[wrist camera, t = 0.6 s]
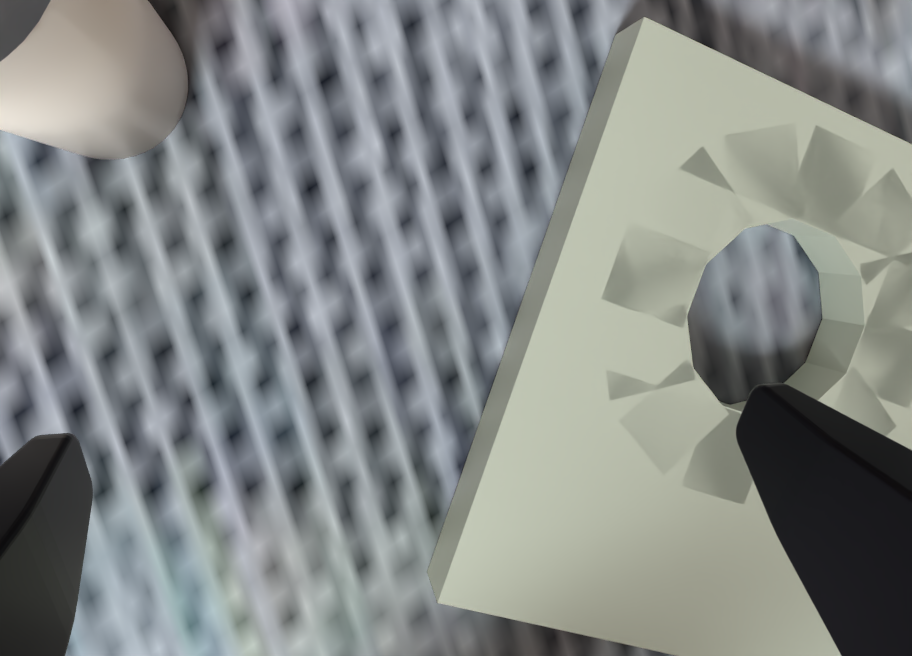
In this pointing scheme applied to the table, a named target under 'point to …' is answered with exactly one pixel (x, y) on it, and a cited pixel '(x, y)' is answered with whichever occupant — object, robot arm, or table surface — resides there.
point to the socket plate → (676, 361)
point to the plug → (90, 75)
